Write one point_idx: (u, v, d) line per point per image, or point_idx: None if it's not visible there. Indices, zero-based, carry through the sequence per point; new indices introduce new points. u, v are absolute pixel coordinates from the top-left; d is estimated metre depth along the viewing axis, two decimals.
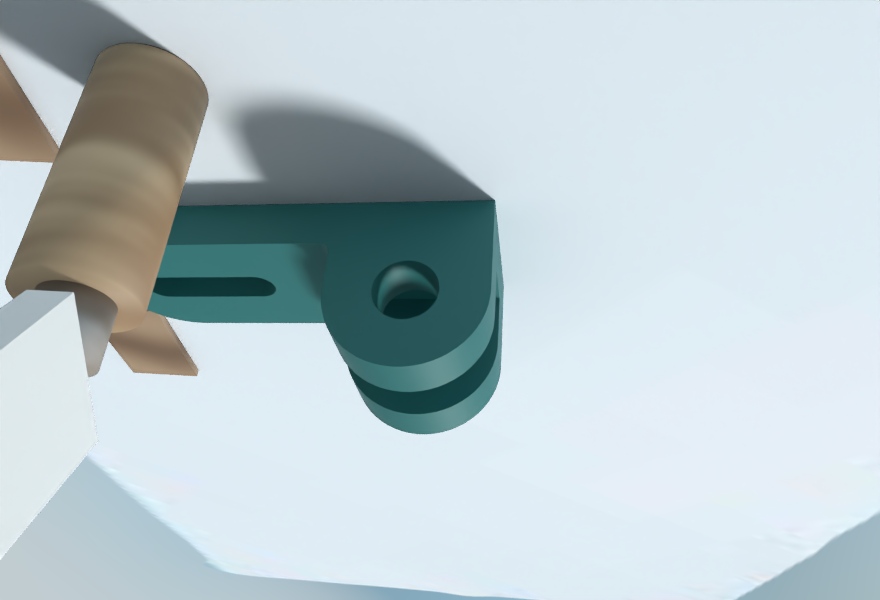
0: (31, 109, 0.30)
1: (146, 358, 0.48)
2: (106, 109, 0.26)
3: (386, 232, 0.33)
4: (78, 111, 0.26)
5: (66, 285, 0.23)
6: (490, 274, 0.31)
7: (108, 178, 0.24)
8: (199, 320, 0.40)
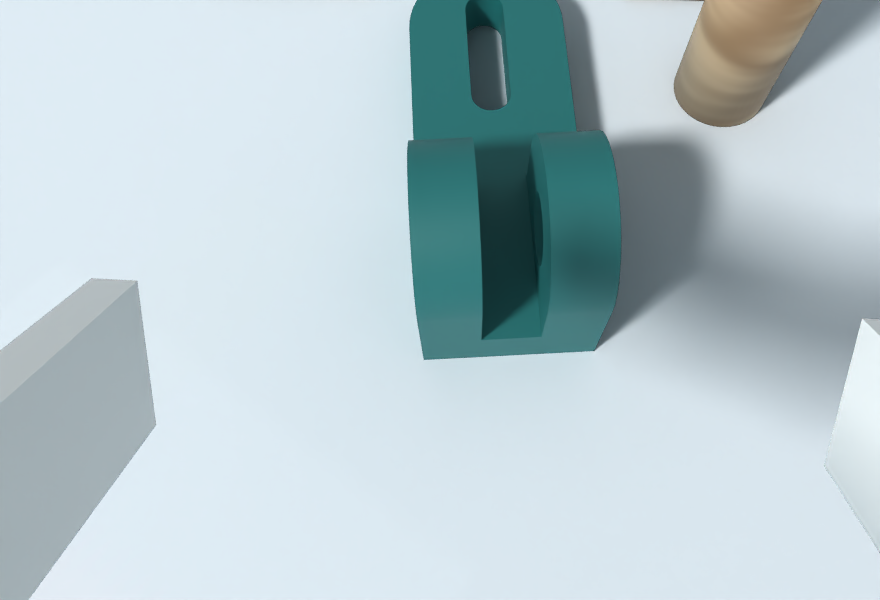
0: None
1: None
2: None
3: None
4: None
5: None
6: (608, 317, 0.28)
7: None
8: (413, 21, 0.35)
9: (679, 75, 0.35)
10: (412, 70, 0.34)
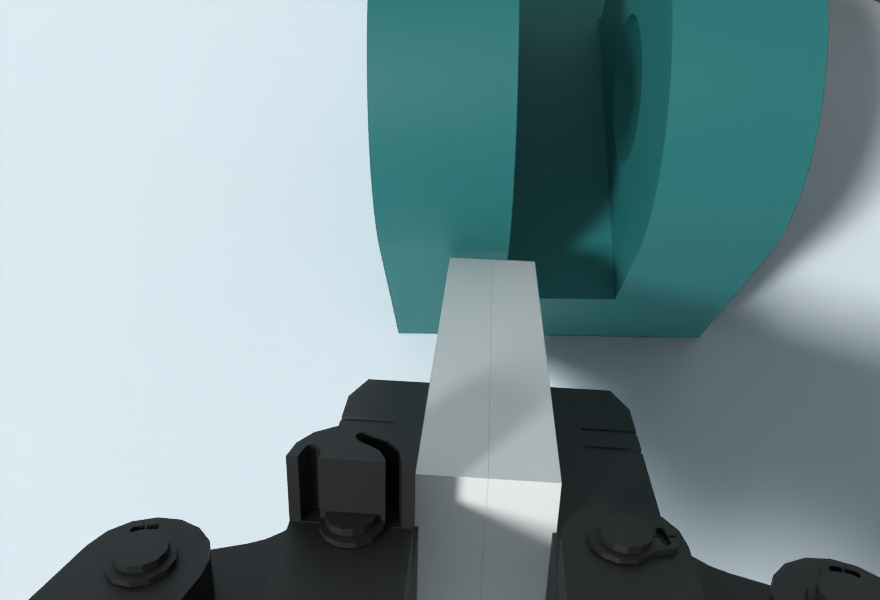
0: None
1: None
2: None
3: None
4: None
5: None
6: None
7: None
8: None
9: None
10: None
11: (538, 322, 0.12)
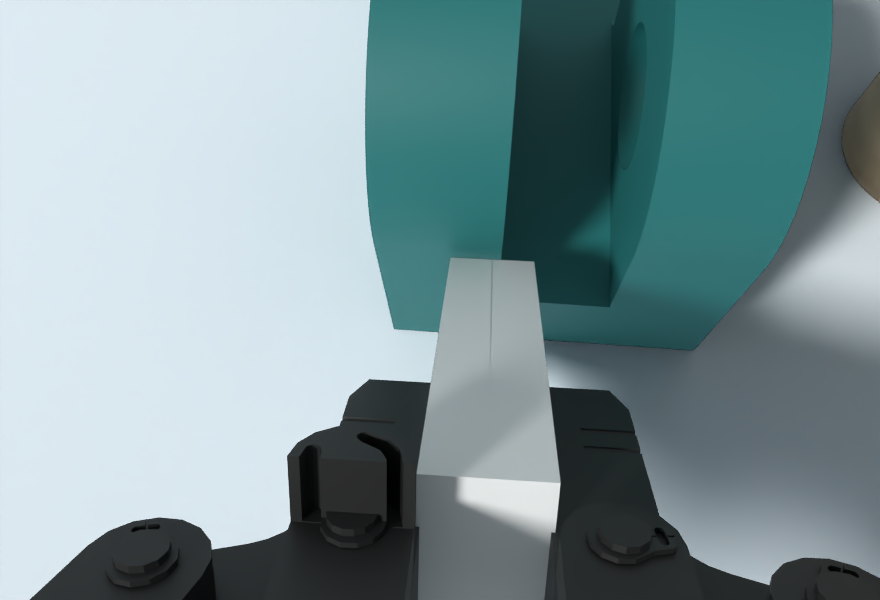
0: None
1: None
2: None
3: None
4: None
5: None
6: (751, 281, 0.14)
7: None
8: None
9: (861, 125, 0.19)
10: None
11: (537, 322, 0.12)
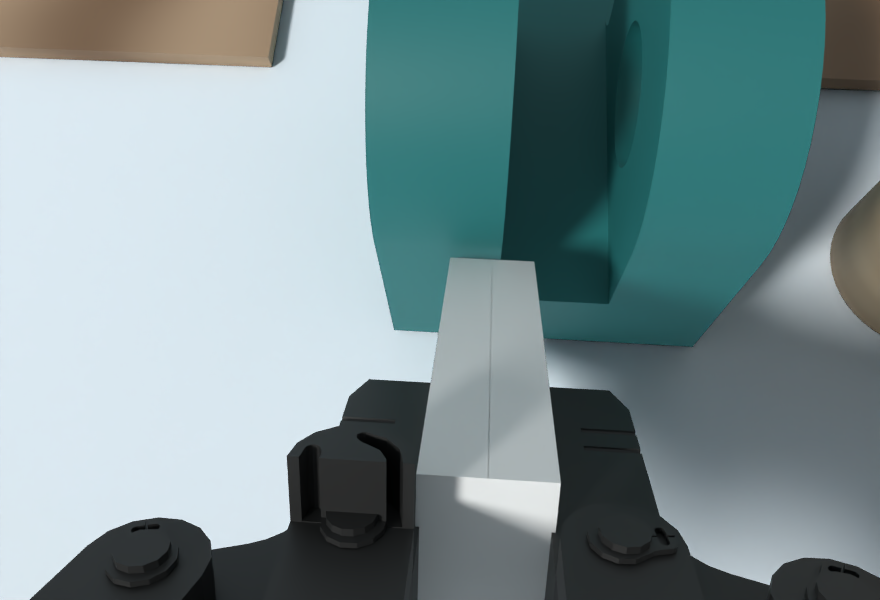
0: (839, 86, 0.20)
1: None
2: None
3: None
4: None
5: None
6: (748, 275, 0.14)
7: None
8: None
9: (850, 249, 0.18)
10: None
11: (537, 322, 0.12)
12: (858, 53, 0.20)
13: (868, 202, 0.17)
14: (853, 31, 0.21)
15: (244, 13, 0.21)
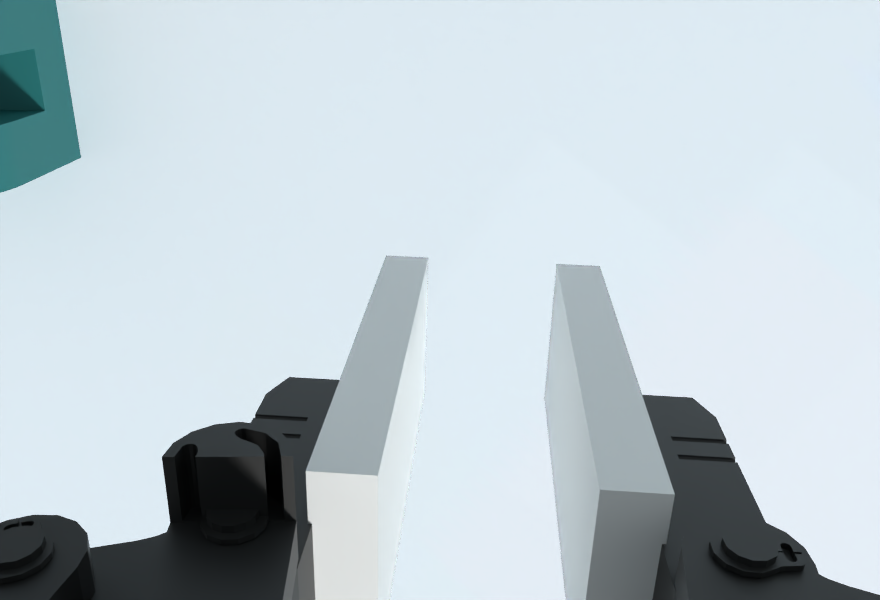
0: None
1: None
2: None
3: None
4: None
5: None
6: None
7: None
8: None
9: None
10: None
11: (616, 328, 0.12)
12: None
13: None
14: None
15: None
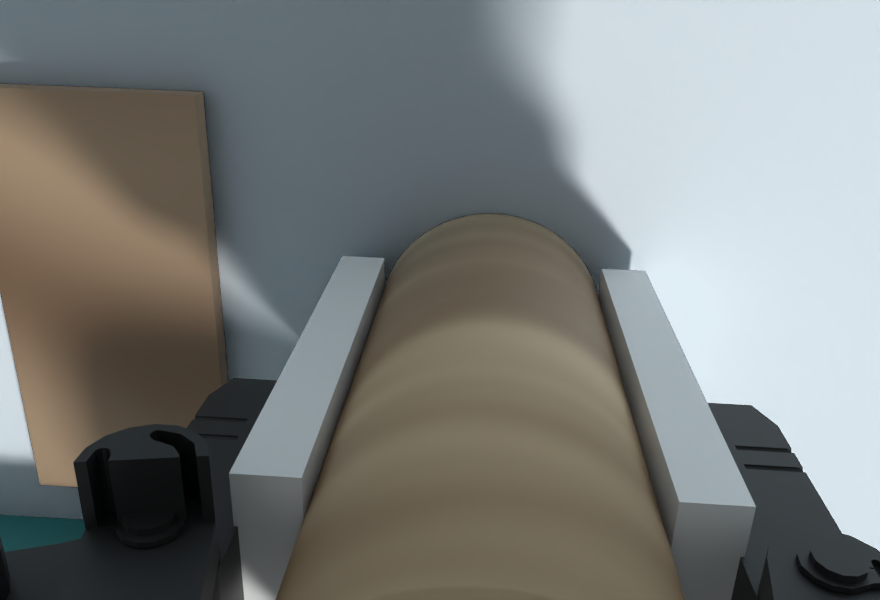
0: (225, 372, 0.15)
1: None
2: (503, 279, 0.11)
3: None
4: (420, 288, 0.12)
5: None
6: None
7: (572, 389, 0.09)
8: None
9: None
10: None
11: (671, 334, 0.12)
12: (176, 355, 0.15)
13: None
14: (140, 355, 0.15)
15: None
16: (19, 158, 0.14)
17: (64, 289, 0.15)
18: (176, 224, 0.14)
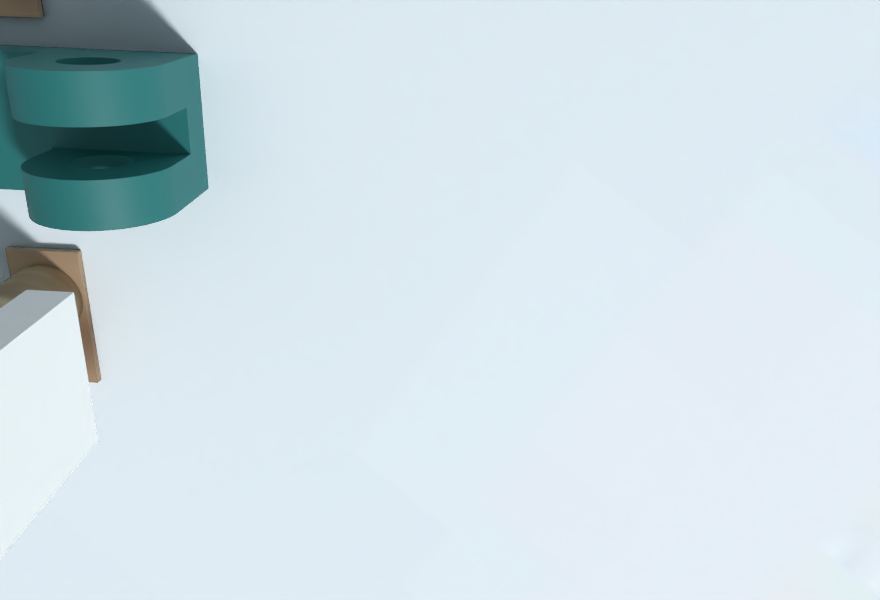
0: None
1: None
2: (14, 286, 0.41)
3: (94, 53, 0.38)
4: None
5: None
6: (168, 62, 0.36)
7: None
8: None
9: None
10: None
11: None
12: None
13: None
14: None
15: (54, 266, 0.44)
16: None
17: None
18: None
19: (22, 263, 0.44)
